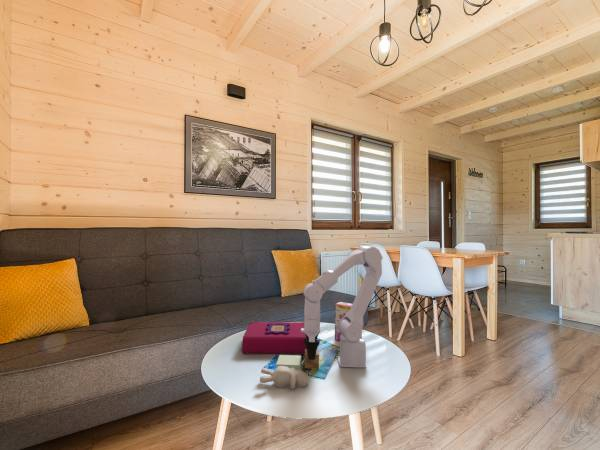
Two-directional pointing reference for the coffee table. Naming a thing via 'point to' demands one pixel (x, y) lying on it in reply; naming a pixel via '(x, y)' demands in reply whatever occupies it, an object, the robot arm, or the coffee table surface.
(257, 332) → the book
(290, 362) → the sage block
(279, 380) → the bunny figurine
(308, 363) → the walnut cube
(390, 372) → the coffee table surface
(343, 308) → the candy bar box
